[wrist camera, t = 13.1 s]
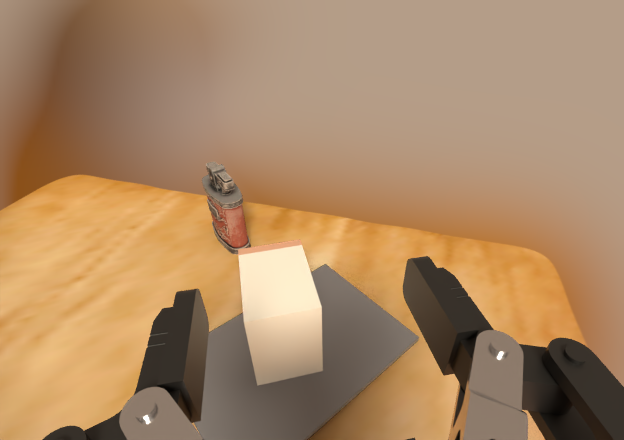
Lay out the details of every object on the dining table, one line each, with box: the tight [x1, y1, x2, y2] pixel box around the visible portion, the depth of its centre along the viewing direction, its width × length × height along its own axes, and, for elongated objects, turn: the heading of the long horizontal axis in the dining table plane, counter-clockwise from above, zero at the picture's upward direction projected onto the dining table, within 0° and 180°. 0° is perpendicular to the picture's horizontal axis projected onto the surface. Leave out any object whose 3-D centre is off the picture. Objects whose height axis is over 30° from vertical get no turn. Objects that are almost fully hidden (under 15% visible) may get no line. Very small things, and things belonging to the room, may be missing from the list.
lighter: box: [202, 162, 251, 255], centre depth 43 cm, size 8×3×10 cm, turn 34°
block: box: [238, 240, 323, 386], centre depth 30 cm, size 8×6×8 cm
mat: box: [194, 264, 419, 440], centre depth 31 cm, size 13×19×1 cm
